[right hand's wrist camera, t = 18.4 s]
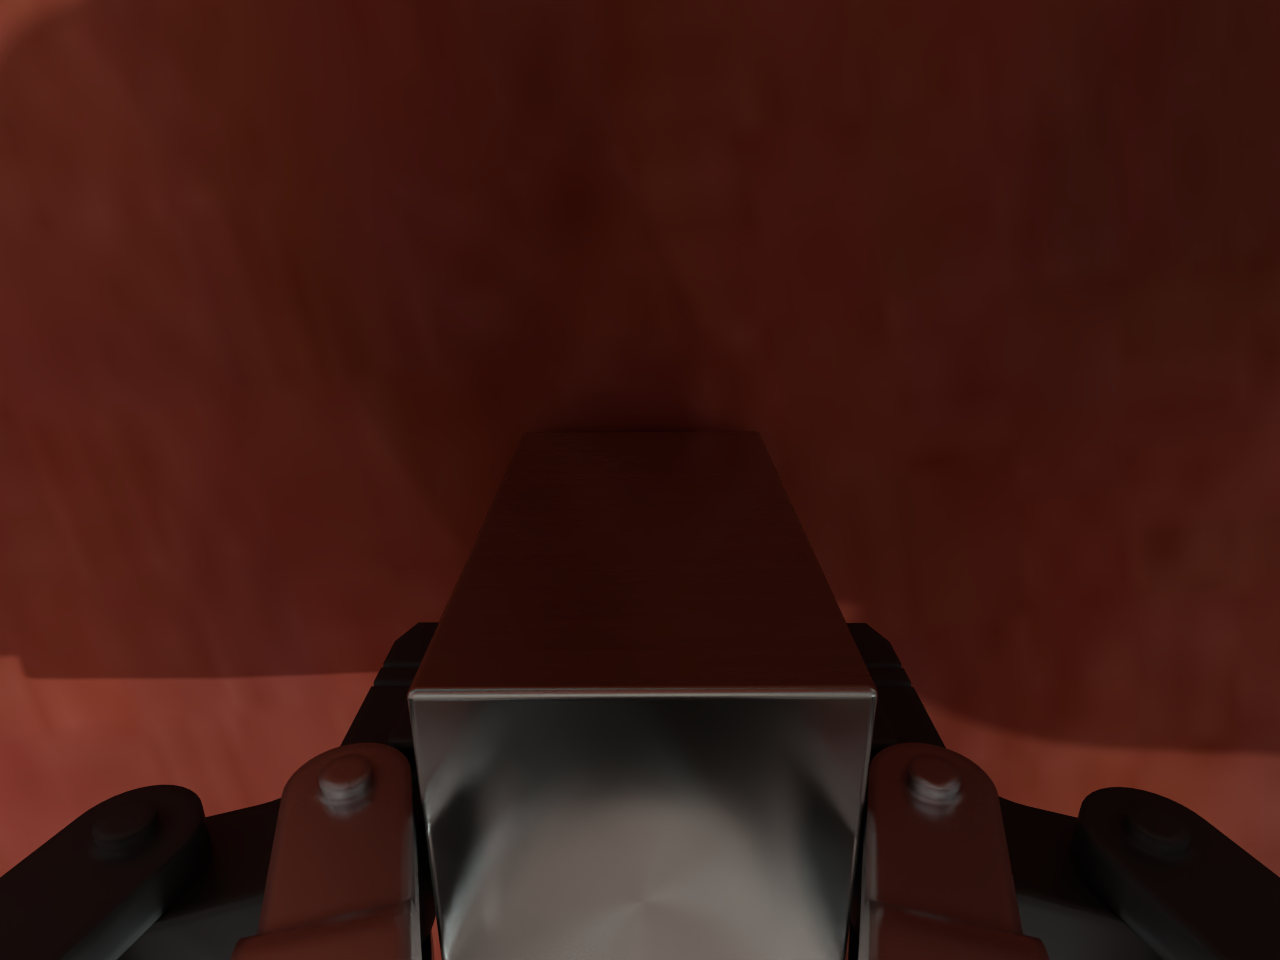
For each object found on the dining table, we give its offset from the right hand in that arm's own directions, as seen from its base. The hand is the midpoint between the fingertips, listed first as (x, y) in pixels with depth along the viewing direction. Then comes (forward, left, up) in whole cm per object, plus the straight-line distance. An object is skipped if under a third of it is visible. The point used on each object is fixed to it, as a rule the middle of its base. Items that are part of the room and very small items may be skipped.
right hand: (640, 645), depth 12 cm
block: (0, 0, -3) cm, 3 cm away
